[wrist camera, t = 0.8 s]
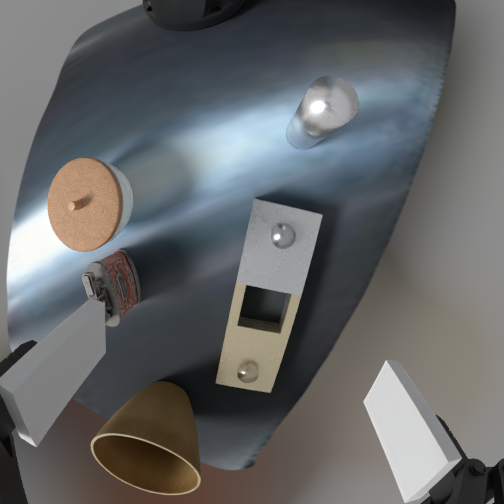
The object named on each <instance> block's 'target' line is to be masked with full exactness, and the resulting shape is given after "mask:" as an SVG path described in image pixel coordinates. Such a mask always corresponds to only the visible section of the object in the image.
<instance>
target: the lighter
mask: <svg viewBox="0 0 504 504" xmlns="http://www.w3.org/2000/svg"><path fill="white" fill-rule="evenodd" d="M82 279H83V283H84V286H85V289H86V292H87V295H88V298H89V299H88V300H90V299H94V300H97V301H100V302H103V303H105V324H106V325H108V326H110V327H115V326H117V325H118V324H119V323H120V322H121V320H122V318H123V317H124V316H125V315H126V314H127V312H128V311H129V310H130V309H131V308H132V307H133V306H135V305H137V304H138V303H139V302H140V300H141V290H140V284H139V279H138V275H137V272H136V269H135V266H134V263H133V261H132V259H131V257H130V254H129V253H128V252H127V251H126V250H124V249H119V250H117V251H115V252H114V253H113V254H112V255H110V256H108V257H106V258H104V259H102V260H100V261H96V262H93V263H91V264H90V265H89V266H88V268H87V273H86V274H84V275H83V276H82Z"/></svg>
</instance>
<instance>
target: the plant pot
mask: <svg viewBox="0 0 504 504" xmlns="http://www.w3.org/2000/svg"><path fill="white" fill-rule="evenodd" d="M91 450H92V453H93V455H94V457H95V458H96V460H97V461H98V462H99V463H100V465H101V466H102V467H104V468H105V469H106V470H107V471H108V472H109V473H111V474H112V475H114V476H115V477H116V478H118V479H120V480H121V481H123V482H125V483H127V484H129V485H132V486H134V487H136V488H139V489H142V490H145V491H149V492H153V493H158V494H166V495H180V494H185V493H189V492H192V491H194V490H195V489H196V488H197V487H198V486H199V485H200V481H201V480H200V479H201V477H200V455H199V444H198V436H197V430H196V424H195V420H194V415H193V411H192V407H191V404H190V400H189V397H188V395H187V394H186V392H185V391H184V390H183V389H182V388H180V387H179V386H177V385H175V384H173V383H170V382H166V381H158V382H154V383H152V384H150V385H149V386H147V387H146V388H144V389H143V390H141V391H140V392H139V393H137V394H136V395H135V396H134V397H132V398H131V399H130V400H129V401H128V402H127V403H125V404H124V405H123V406H122V407H121V408H120V409H119V410H118V411H117V412H116V413H115V414H114V415H113V416H112V417H111V418H110V419H109V420H108V422H107V423H106V424H105V425H104V426H103V427H102V429H101V430H100V431H99V432H98V434H97V435H96V436H95V438H94V439H93V440H92V443H91Z"/></svg>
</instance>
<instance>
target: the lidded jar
mask: <svg viewBox="0 0 504 504" xmlns="http://www.w3.org/2000/svg"><path fill="white" fill-rule="evenodd" d="M132 209H133V193H132V189H131V186H130V184H129V181H128V180H127V178H126V176H125V175H124V174H123V173H122V172H121V171H120V170H119V169H118V168H116V167H115V166H113V165H111V164H109V163H107V162H104V161H100V160H97V159H94V158H87V157H83V158H77V159H74V160H72V161H70V162H68V163H67V164H66V165H64V166H63V167H62V168H61V169H60V170H59V172H58V173H57V175H56V176H55V178H54V180H53V182H52V184H51V187H50V191H49V195H48V215H49V220H50V223H51V226H52V228H53V230H54V232H55V234H56V235H57V237H58V238H59V239H60V240H61V241H62V242H63V243H64V244H65V245H66V246H68V247H69V248H71V249H73V250H76V251H81V252H87V251H92V250H95V249H97V248H99V247H101V246H103V245H104V244H106V243H108V242H109V241H111V240H113V239H114V238H115V237H116V236H118V235H119V234H120V233H121V231H122V230H123V229H124V228H125V226H126V225H127V223H128V221H129V219H130V217H131V213H132Z"/></svg>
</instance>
